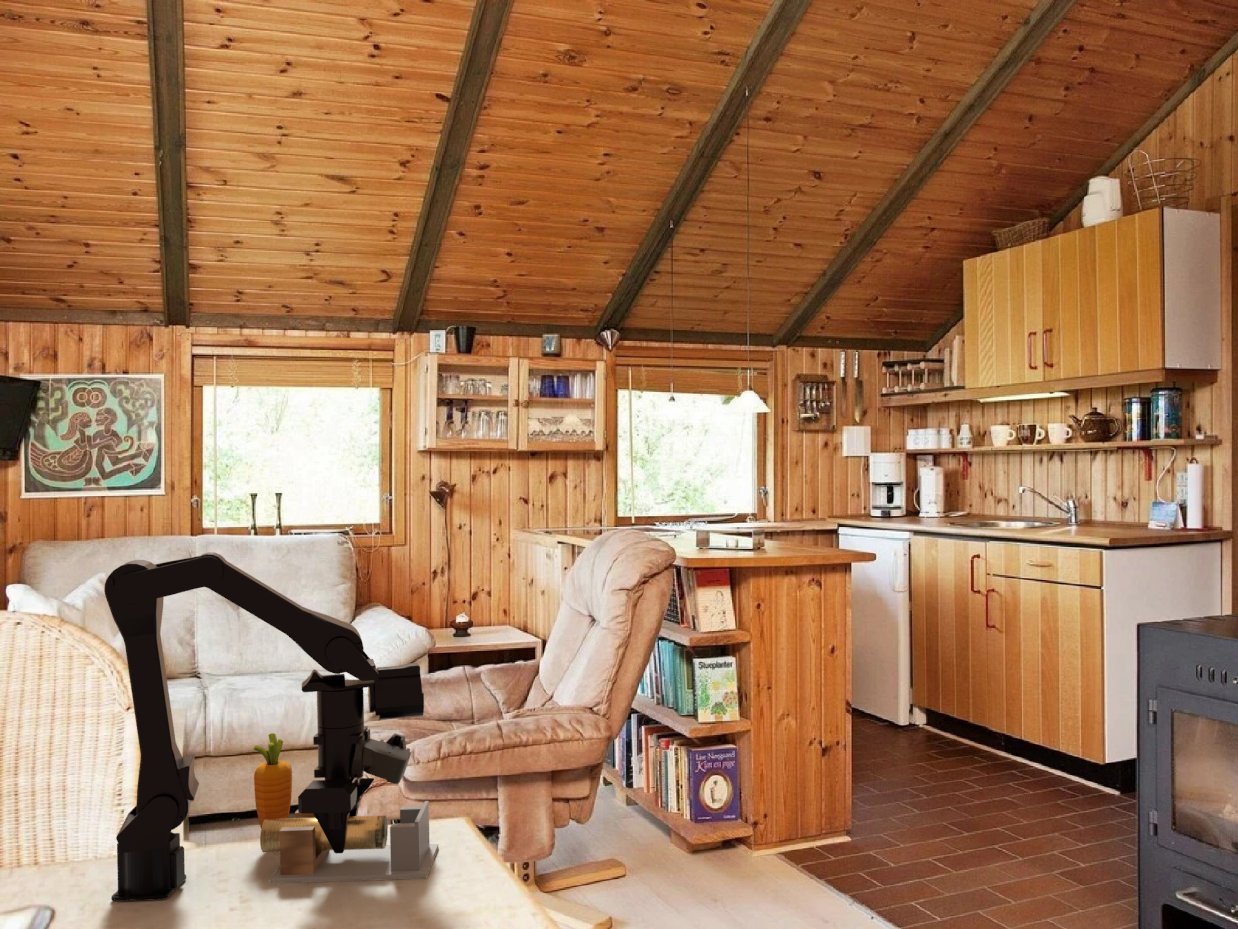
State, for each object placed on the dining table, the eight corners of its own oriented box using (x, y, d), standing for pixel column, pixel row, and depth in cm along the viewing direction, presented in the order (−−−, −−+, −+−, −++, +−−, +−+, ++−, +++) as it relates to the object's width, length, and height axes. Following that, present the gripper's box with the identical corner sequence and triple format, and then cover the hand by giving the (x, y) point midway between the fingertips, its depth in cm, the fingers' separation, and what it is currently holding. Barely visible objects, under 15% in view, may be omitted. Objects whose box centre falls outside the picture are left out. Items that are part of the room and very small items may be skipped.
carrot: (282, 856, 136) (279, 741, 136) (247, 854, 137) (245, 739, 137) (301, 842, 141) (298, 731, 141) (267, 840, 142) (265, 730, 142)
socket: (391, 871, 128) (389, 822, 128) (402, 847, 136) (401, 801, 136) (419, 870, 128) (418, 821, 128) (429, 847, 136) (428, 801, 136)
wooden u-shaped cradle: (280, 875, 128) (279, 831, 128) (298, 851, 136) (297, 809, 136) (313, 874, 128) (312, 830, 128) (329, 850, 136) (328, 808, 136)
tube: (260, 857, 130) (259, 825, 130) (270, 845, 134) (269, 814, 134) (381, 853, 130) (381, 821, 130) (387, 842, 134) (387, 811, 134)
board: (269, 883, 127) (269, 878, 127) (293, 853, 137) (292, 848, 137) (426, 878, 127) (426, 873, 127) (438, 848, 137) (438, 844, 137)
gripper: (390, 741, 123) (393, 873, 123) (416, 705, 142) (419, 820, 142) (295, 743, 123) (298, 876, 123) (334, 707, 141) (336, 822, 141)
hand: (343, 846), depth 132 cm, fingers closed on tube, 4 cm apart
